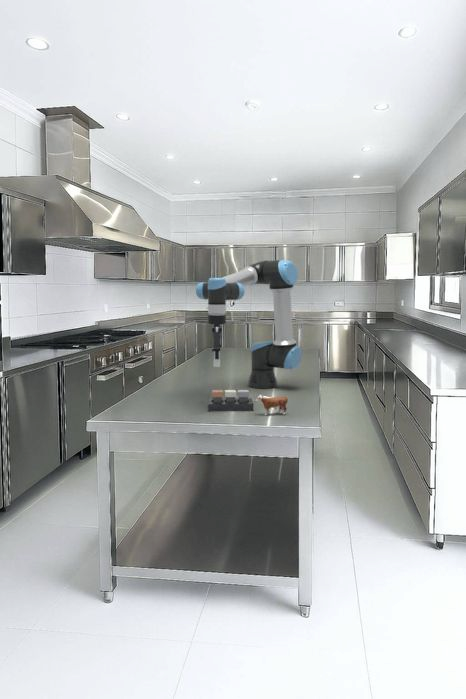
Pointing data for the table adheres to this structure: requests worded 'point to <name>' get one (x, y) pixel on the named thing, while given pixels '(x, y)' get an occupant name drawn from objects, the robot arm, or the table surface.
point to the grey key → (243, 395)
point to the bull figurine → (272, 403)
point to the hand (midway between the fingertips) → (216, 364)
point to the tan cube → (217, 395)
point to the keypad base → (230, 405)
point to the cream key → (230, 395)
